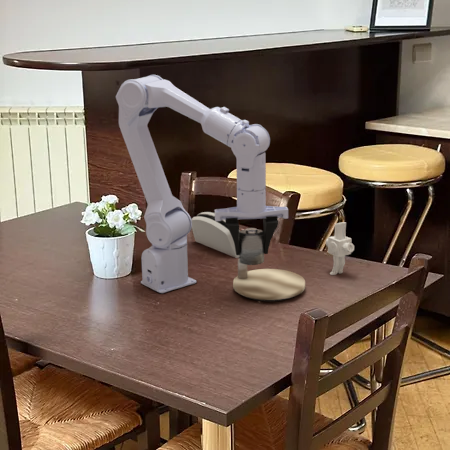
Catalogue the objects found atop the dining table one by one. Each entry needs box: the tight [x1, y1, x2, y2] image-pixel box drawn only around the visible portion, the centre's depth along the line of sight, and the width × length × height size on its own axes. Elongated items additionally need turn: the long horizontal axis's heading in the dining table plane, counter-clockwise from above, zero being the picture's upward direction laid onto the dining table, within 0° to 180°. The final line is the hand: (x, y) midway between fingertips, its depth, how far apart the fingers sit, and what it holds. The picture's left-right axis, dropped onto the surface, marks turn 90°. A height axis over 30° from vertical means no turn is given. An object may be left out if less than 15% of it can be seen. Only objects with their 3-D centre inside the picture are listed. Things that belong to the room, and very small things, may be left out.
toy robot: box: [325, 221, 355, 276], centre depth 169 cm, size 4×8×12 cm, turn 34°
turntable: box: [232, 258, 306, 300], centre depth 161 cm, size 15×15×5 cm
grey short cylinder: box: [238, 227, 265, 266], centre depth 156 cm, size 5×5×7 cm
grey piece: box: [191, 211, 241, 259], centre depth 187 cm, size 17×5×10 cm, turn 39°
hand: (251, 253), depth 157 cm, fingers closed on grey short cylinder, 5 cm apart
